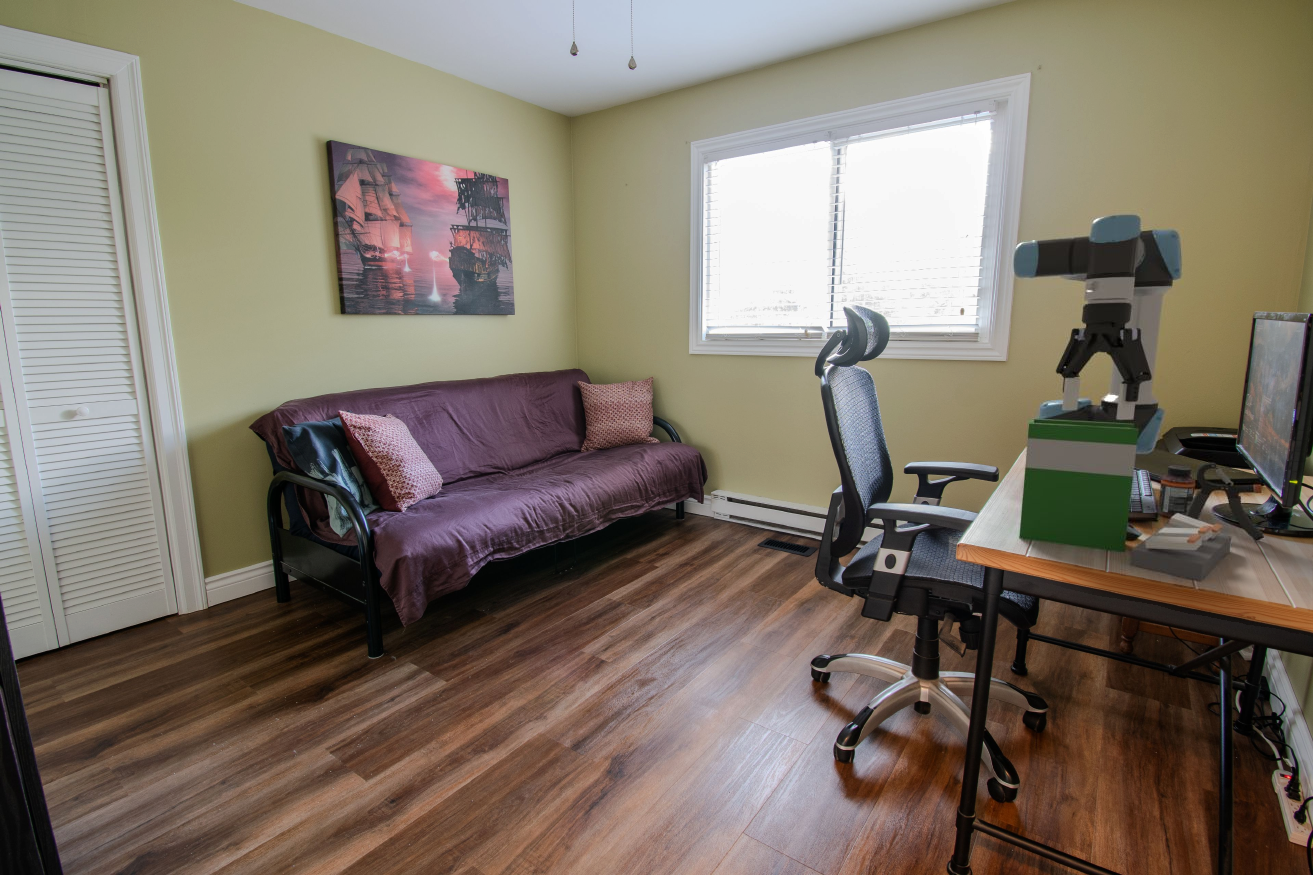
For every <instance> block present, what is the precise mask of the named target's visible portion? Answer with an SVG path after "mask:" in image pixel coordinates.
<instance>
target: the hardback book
mask: <svg viewBox="0 0 1313 875" xmlns="http://www.w3.org/2000/svg"><path fill="white" fill-rule="evenodd" d="M1028 420H1029V421H1028V422H1029V423H1028V430H1027V431H1028V433H1027V440H1026V442H1027V444H1026V454H1025V455H1026V456H1025V465H1024V466H1025V467H1024V479H1023V487H1022V503H1021V512H1020V522H1019V523H1020V524H1019V525H1020V526H1019V537H1018V538H1019V539H1020V538H1023V539H1022V540H1028V539H1029V540H1028V541H1030V540H1031V541H1035V540H1036V541H1037V542H1043V543H1044V542H1045V543H1050V542H1051V543H1050V544H1057V545H1058V544H1059V545H1066V546H1074V547H1080V548H1081V547H1082V548H1090V549H1091V548H1092V549H1097V550H1104V551H1111V552H1118V553H1125V552H1126V551H1125V549H1126V542H1127V541H1126V540H1127V532H1128V523H1129V515H1130V507H1131V506H1130V505H1131V497H1132V490H1133V482H1134V471H1135V465H1136V455H1137V454H1136V448H1137V439H1138V430H1139V429H1135V428H1134V424H1128V423H1109V422H1089V421H1069V420H1050V419H1037V418H1030V417H1029V419H1028Z"/></svg>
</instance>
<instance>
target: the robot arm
mask: <svg viewBox="0 0 1313 875" xmlns="http://www.w3.org/2000/svg"><path fill="white" fill-rule="evenodd" d="M1141 221H1142V220H1141V217H1140V216H1139V215H1136V214H1116V215H1114V214H1113V215H1107V216H1102V217H1099V218H1096V219H1094V220H1093V222H1092V223H1091V228H1090V234H1089V236H1077V237H1076V236H1075V237H1065V238H1054V239H1052V238H1051V239H1043V240H1041V239H1040V240H1037V239H1034V240H1031V241H1022V242H1019V243H1018V244H1017V246H1016V247H1015V250H1014V255H1013V262H1012V263H1013V271H1014V274H1015V276H1016V277H1017V278H1020V279H1021V278H1022V279H1024V278H1026V279H1027V278H1030V279H1034V278H1044V277H1047V278H1048V277H1060V278H1061V279H1064V280H1066V281H1067V280H1068V281H1078V282H1084V283H1085V286H1084V288H1085V289H1084V297H1083V300H1084V301H1085V302H1087V303H1086V304H1085V303H1084V305H1083V306H1082V315H1081V322H1082V324H1085V327H1083V328H1081V327H1079V328H1075V327H1074V328H1072V329H1071V331H1070V332H1071V333H1070V338H1069V341H1068V344H1067V346H1066V347H1065V349H1064V352H1063V354H1062V356H1061V358H1060V360H1059V362H1058V365H1057V367H1056V369H1055V373H1056V374H1058V375H1061V377H1062V378H1063V382H1062V393H1063V398H1062V399H1055V400H1054V399H1053V400H1049V401H1045V402H1042V403H1041V404H1040V405H1039V410H1038V414H1037V415H1038V416H1037V418H1036V419H1050V420H1069V421H1089V422H1109V423H1128V424H1134V428H1135V429H1139V430H1138V439H1137V448H1136V455H1147V454H1149V453H1151V452H1153V451H1154V449H1155V447H1156V444H1157V441H1158V438H1159V435H1160V432H1161V427H1162V426H1163V425H1162V424H1163V422H1164V417H1165V413H1166V410H1165V409H1164V408H1162V407H1159V400H1158V399H1157V398H1156V397H1155V396H1154V395H1153V387H1154V386H1153V384H1154V377H1155V368H1156V359H1157V351H1158V345H1159V344H1158V343H1159V334H1160V333H1159V332H1160V326H1161V317H1162V316H1161V315H1162V309H1163V308H1162V306H1163V298H1164V295H1165V294H1166V293H1167V292H1168V291H1170V290H1171V289H1172V288H1173V283H1174V281H1176V280H1180V279H1181V278H1182V275H1183V273H1182V267H1183V266H1182V265H1183V264H1182V262H1183V260H1182V259H1183V258H1182V245H1181V237H1180V234H1179V232H1178V231H1176V230H1175V229H1150V230H1142V229H1141V225H1142V224H1141ZM1097 353H1105V354H1107V355H1108V356H1110V358H1111V360H1112V364H1111V374H1110V383H1109V392H1108V393H1107V394H1106V395H1104V396H1103V397H1101V399H1100V405H1099V404H1093V401H1092V399H1090V398H1079V394H1080V384H1081V378H1080V373H1081V371H1082V370H1083V369H1084V367H1085V366H1086V365H1087V364H1088V363H1089V361H1090V360H1091V358H1092V357H1093V356H1094V355H1095V354H1097Z"/></svg>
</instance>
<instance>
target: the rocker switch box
mask: <svg viewBox="0 0 1313 875" xmlns="http://www.w3.org/2000/svg"><path fill="white" fill-rule="evenodd" d="M1163 528H1182V527H1179V526H1176V525H1173V524H1165V525H1164V526H1162V527H1161V528H1160V529H1158V530H1157V531H1155V532H1154V533H1152V534H1151V535H1150V536H1149V537H1147V538H1146V539H1144V540H1143V541H1141V543H1139V544H1138V545H1136V546H1134V547H1133V548H1132V550H1131V557H1130V566H1133V567H1138V568H1142V569H1146V570H1151V571H1155V572H1160V573H1163V574H1168V575H1173V576H1177V577H1181V578H1186V579H1191V580H1195V581H1198V582H1202V581H1203V580H1204V579H1205V577H1207V575H1208V574H1209V573H1210V572H1212V570H1213V569H1214V568H1215V567H1217V565H1218V564H1219V563H1220V562H1221V561H1222V560H1223V559H1224V558H1225V557H1226V555H1228V553H1230V550H1231V544H1232V538H1233V536H1232V535H1229V534H1228V535H1226V534H1222V533H1219V534H1218V535H1217V536H1216V537H1215V538H1214V539H1213V538H1209V539H1207V540H1201V541H1202V545H1201V546H1200V547H1199V548H1197V549H1196V550H1180V549H1157V548H1146V543H1145V541H1147V540H1148V539H1149V538H1151V537H1152V536H1158V533H1157V532H1159V531H1160V530H1162V529H1163Z"/></svg>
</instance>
